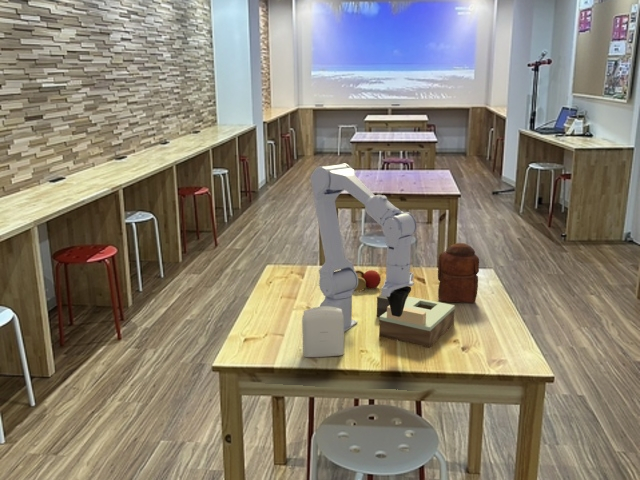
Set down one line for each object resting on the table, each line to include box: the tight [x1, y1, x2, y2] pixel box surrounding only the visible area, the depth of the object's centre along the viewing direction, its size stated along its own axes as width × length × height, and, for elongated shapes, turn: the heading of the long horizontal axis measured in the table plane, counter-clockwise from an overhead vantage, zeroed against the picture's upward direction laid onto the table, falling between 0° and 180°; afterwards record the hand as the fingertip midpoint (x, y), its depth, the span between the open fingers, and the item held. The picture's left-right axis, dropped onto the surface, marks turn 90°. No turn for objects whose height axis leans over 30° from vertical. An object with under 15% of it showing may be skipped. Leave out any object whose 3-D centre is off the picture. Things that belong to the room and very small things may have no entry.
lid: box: [379, 295, 456, 331], centre depth 164 cm, size 18×14×4 cm
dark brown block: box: [376, 294, 389, 318], centre depth 175 cm, size 4×4×6 cm
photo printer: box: [301, 306, 345, 358], centre depth 150 cm, size 10×4×12 cm, turn 96°
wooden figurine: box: [437, 242, 480, 304], centre depth 186 cm, size 12×6×18 cm, turn 85°
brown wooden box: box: [378, 304, 455, 349], centre depth 166 cm, size 18×14×4 cm
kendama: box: [354, 269, 382, 292], centre depth 199 cm, size 8×6×18 cm
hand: (396, 315), depth 152 cm, fingers closed
